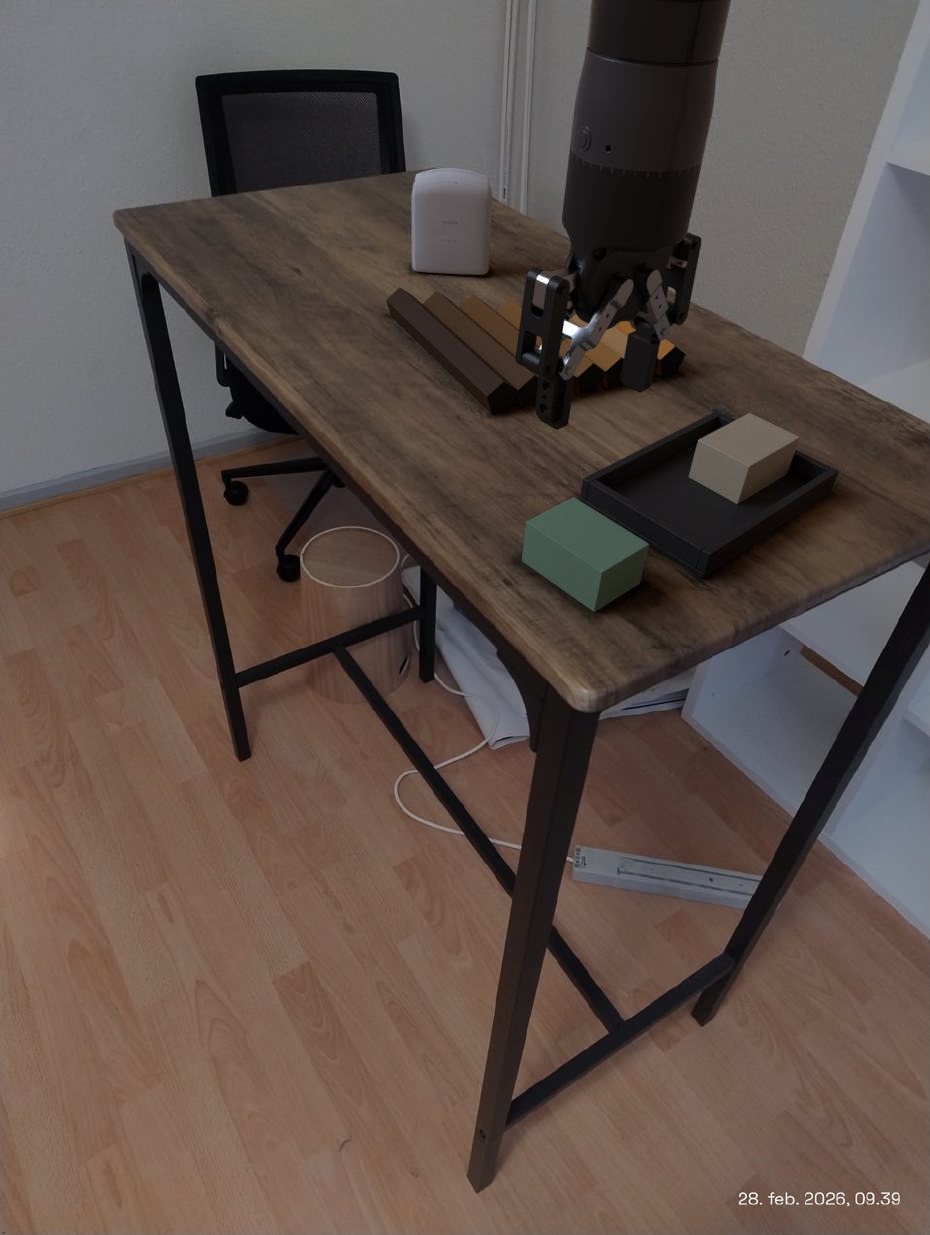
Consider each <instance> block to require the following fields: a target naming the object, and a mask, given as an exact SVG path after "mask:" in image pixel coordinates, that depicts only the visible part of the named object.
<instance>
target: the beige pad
mask: <svg viewBox="0 0 930 1235" xmlns="http://www.w3.org/2000/svg"><path fill="white" fill-rule="evenodd" d="M800 439H801V437H800V436H799V435H796V434H794V433H792V432H790V431H788V430H786V429H784V428H782V427H780V426H777V425H775V424H773V423H771V422H769V421H767V420H766V419H764V418H761V417H759V416H757V415H755V414H753V413H752V412H748V413H747V414H745V415H743V416H741V417H739V418H737V419H735V421H733V422H731V423H730V424H728V425H726V426H724V427H722V428H720V429H718V430H716V431H714V432H712V433H711V434H709V435H707V436H705V437H703V438H701V439H699V440H698V443H697V447H696V451H695V454H694V458H693V462H692V466H691V470H690V473H689V478H691V479H693V480H694V481H696V482H698V483H700V484H702V485H703V486H705V487H707V488H709V489H711V490H712V491H714V492H716V493H718V494H720V495H721V496H723V497H725V498H727V499H729V500H730V501H732V502H734V503H736V504H739V503H741V502H742V501H744V500H746V499H747V498H749V497H750V496H752V495H754V494H755V493H757V492H759V491H760V490H762V489H764V488H765V487H767V486H768V485H770V484H772V483H773V482H775V481H777V480H778V479H780V478H782V477H783V476H785V475H786V474H787V473H788V470H789V467H790V464H791V461H792V459H793V456H794V453H795V450H797V448H798V444H799V441H800Z"/></svg>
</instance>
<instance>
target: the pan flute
mask: <svg viewBox="0 0 930 1235" xmlns="http://www.w3.org/2000/svg"><path fill="white" fill-rule="evenodd" d="M385 302H386V305H387V307H388V311H389V314H390V317H391V318H392V319H393V320H394V321H395V322H396V323H397V324H398V325H399V326H400V327H401V328H402V329H404V331H405V332H407V333H408V334H409V335H410V336H411V338H413V339H414V340H415V341H416V342H417V343H418V344H419V345H420V346H421V347H422V348H423V349H424V351H426V352H427V353H428V354H429V355H430V356H431V357H432V358H433V359H434V360H435V361H437V363H438V364H439V365H440V366H441V367H443V368H444V370H445V371H446V372H447V373H449V375H450V376H452V377H453V378H454V379H455V380H456V381H457V382H458V383H459V384H460V385H461V386H462V387H463V388H464V389H465V390H466V391H467V392H468V393H469V394H470V395H471V396H472V397H473V398H474V399H475V400H476V401H477V402H478V403H479V404H480V405H481V406H482V407H484V409H485V410H486V411H488V412H489V414H491V415H495V414H499V413H504V412H509V411H511V409H512V407H513V404H514V402H515V403H516V404H517V405H519V407H521V408H526V407H530V406H536V402H537V401H536V397H537V388H538V379H539V375H538V374H536V373H534V372H532V371H531V370H529V369H527V368H525V367H523V366H521V365H519V364H517V363H516V360H515V357H516V349H517V342H518V334H519V327H520V320H521V312H522V305H520V304H519V303H517V302H516V301H514V300H513V299H512V298H508V299H507V301H506V302H505V303H503V304H502V305H501V306H500V307H499V308H498V309H496V310H495V309H494V308H492V307H491V306H490V305H489V304H488V303H487V302H485V301H483V300H481V299H480V298H479V297H478V296H476V295H474V294H472V295H471V296H470V297H469V298H468V299H467V300H465V301H464V302H463V303H462V304H461V305H460V306H458V305H457V304H456V303H454V301H452V300H451V299H450V298H448V297H446V296H445V295H443V294H442V293H441V292H439V291H437V290H435V291H434V292H433V293H432V294H431V295H430V296H429V297H428V298H427V299H425V301H424V302H423V303H422V302H421V301H420V300H419V299H418V298H416V296H414V295H413V294H411V293H410V292H409V291H407V290H405V289H403V288H402V287H401V286H399V287H398V288H396V290H395V291H393V293H391V295H390V296H389V297H387V298H386V299H385ZM569 323H571V324H574V325H576V326H578V327H580V328H584V327H586V326H587V325H588V323H586V322H584V321H582V320H580V319H579V318H578V316H577V314H576V313H575V314H574V315H573V316H572V317H570V318H569ZM635 330H636V329H634V328H632V327H631V324H630V322H629V321H621V322H620V323H618V324H617V325H615V326H614V327H613V328H610V329H608V330H606V331H605V333H604V335H603V337H602V338H601V340H600V342H599V344H598V345H597V346H596V347H595V348H594V349H591V350H588V351H587V352H586V353H585V355H584V356H583V358H582V360H581V362H580V364H579V365H578V367H577V369H576V371H575V372H574V374H573V377H575V379H574V386H573V391H575V392H576V393H577V394H578V395H579V396H580V395H581V396H582V395H585V394H590V393H594V392H598V390H599V388H600V385H601V384H602V386H604V387H605V388H607V389H612V388H616V387H620V386H625V385H624V384H623V383H622V382H621V372H622V366H623V361H624V355H625V350H626V344H627V339H628V334H629V333H631V332H634V331H635ZM571 343H572V340H571V339H569V338H567V339H565V340H564V341H563V342H562V344H561V346H560V351H559V355H561V356H563V357H564V355H565V354H566V352H567V350H568V348H569V346H570V345H571ZM541 345H542V340H541V338H540V337H539V336H537V340H536V347H535V349H539V348H540V347H541ZM686 356H687V355H686V353H685V352H684V351H682V350H681V349H680V348H679V347H678V346H676V345H675V344H673V343H672V342H670V341H669V340H668V339H666V338H665V339H664V340H662V341H661V342H660V347H659V351H658V356H657V359H656V360H657V361H656V364H655V371H654V374H657V375H658V376H659V377H666V376H670V375H675V374H678V373H679V372H678V371H679V370H680V368H681V366H682V363H683V361H684V360H685V357H686Z"/></svg>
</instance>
